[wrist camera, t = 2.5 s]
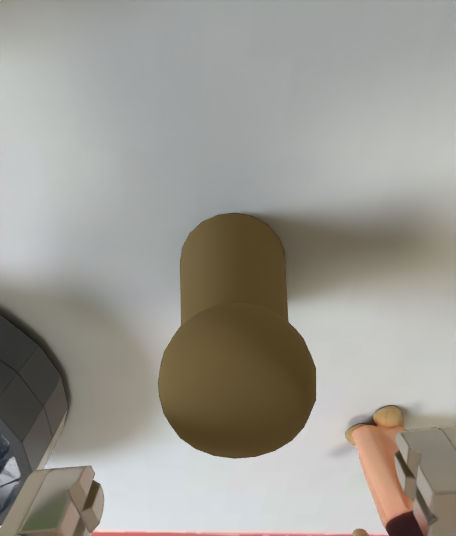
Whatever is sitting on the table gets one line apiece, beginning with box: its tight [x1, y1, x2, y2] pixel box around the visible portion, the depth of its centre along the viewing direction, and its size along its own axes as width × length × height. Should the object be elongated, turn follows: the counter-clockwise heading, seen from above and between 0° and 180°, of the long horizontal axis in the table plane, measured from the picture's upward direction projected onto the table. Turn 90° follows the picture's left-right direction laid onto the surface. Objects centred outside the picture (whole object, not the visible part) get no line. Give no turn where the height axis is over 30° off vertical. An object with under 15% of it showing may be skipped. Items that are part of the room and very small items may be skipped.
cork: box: [158, 213, 316, 458], centre depth 15 cm, size 6×6×11 cm
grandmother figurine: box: [345, 406, 424, 536], centre depth 20 cm, size 8×4×13 cm, turn 145°
